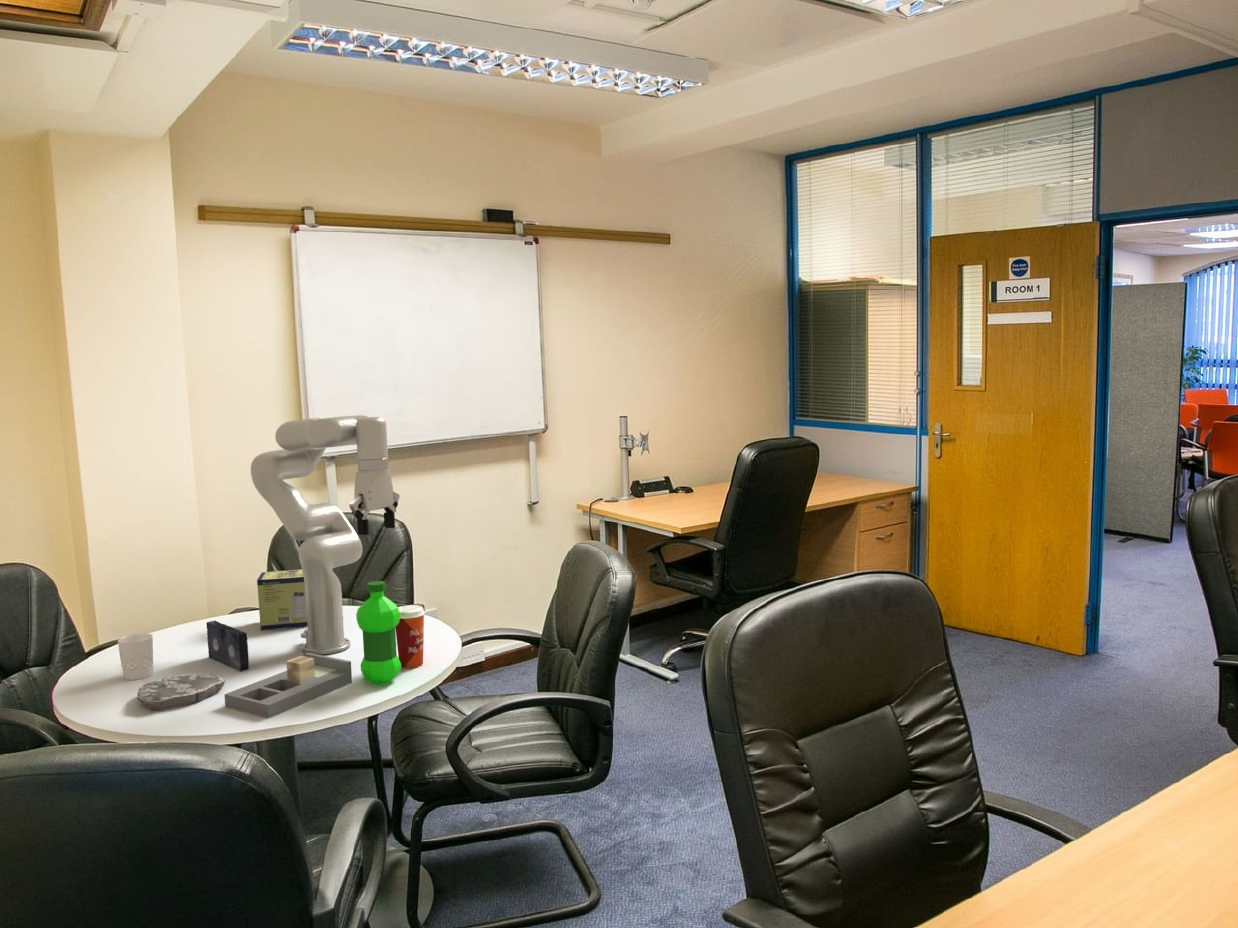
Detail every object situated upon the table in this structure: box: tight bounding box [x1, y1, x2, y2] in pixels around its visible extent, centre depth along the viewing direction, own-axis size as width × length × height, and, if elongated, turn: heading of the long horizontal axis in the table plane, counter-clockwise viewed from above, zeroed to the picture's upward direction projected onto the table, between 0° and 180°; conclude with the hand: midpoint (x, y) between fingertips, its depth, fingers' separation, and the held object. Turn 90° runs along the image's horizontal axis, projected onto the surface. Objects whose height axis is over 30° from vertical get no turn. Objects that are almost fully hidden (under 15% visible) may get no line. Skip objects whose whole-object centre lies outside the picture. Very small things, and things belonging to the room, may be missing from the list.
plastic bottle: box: [355, 580, 402, 686], centre depth 228 cm, size 10×10×25 cm
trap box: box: [224, 653, 353, 719], centre depth 222 cm, size 15×25×6 cm, turn 150°
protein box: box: [256, 569, 307, 631], centre depth 281 cm, size 10×16×16 cm
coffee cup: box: [395, 604, 426, 669], centre depth 241 cm, size 8×8×15 cm
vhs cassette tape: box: [205, 620, 250, 672], centre depth 245 cm, size 18×3×10 cm, turn 47°
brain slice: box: [136, 673, 226, 712], centre depth 222 cm, size 20×17×3 cm
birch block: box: [286, 655, 315, 682], centre depth 224 cm, size 4×4×4 cm
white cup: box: [117, 632, 154, 681], centre depth 237 cm, size 8×8×10 cm
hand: (376, 531), depth 239 cm, fingers open, 9 cm apart
